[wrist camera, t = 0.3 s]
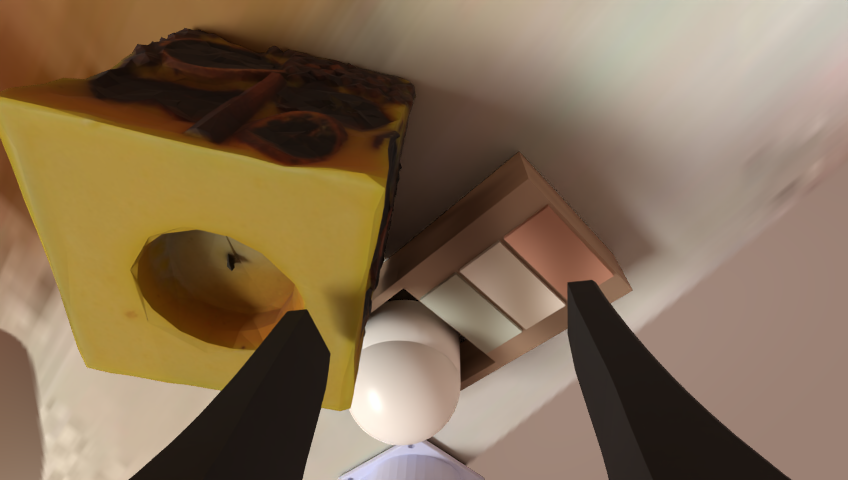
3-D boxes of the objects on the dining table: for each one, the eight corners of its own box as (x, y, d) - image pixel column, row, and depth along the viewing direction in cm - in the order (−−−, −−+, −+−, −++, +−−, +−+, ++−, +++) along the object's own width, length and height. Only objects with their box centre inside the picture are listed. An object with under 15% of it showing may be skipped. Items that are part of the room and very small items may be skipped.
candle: (184, 23, 19) (-35, 79, 10) (420, 75, 19) (396, 168, 11) (202, 226, 24) (69, 371, 16) (385, 261, 25) (351, 418, 16)
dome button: (408, 388, 28) (399, 484, 23) (334, 336, 26) (306, 429, 21) (481, 342, 25) (489, 438, 20) (406, 281, 23) (394, 372, 18)
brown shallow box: (405, 385, 30) (401, 428, 27) (312, 321, 27) (297, 361, 25) (613, 254, 24) (634, 292, 21) (519, 151, 21) (529, 180, 18)
